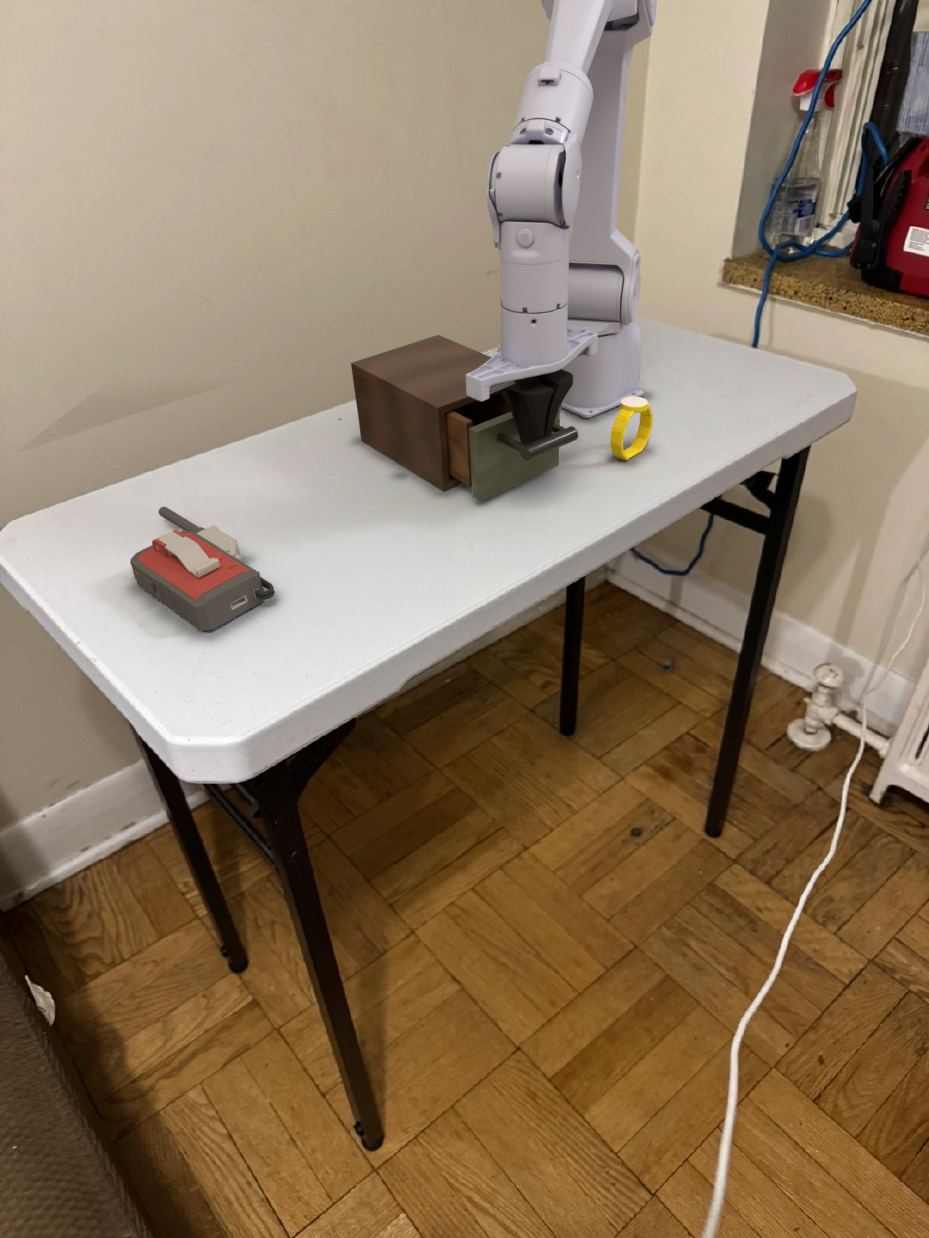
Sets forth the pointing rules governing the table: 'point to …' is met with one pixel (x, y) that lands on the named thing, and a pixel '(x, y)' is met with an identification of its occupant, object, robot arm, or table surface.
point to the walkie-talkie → (199, 574)
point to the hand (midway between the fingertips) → (534, 447)
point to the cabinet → (414, 402)
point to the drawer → (497, 447)
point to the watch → (620, 424)
